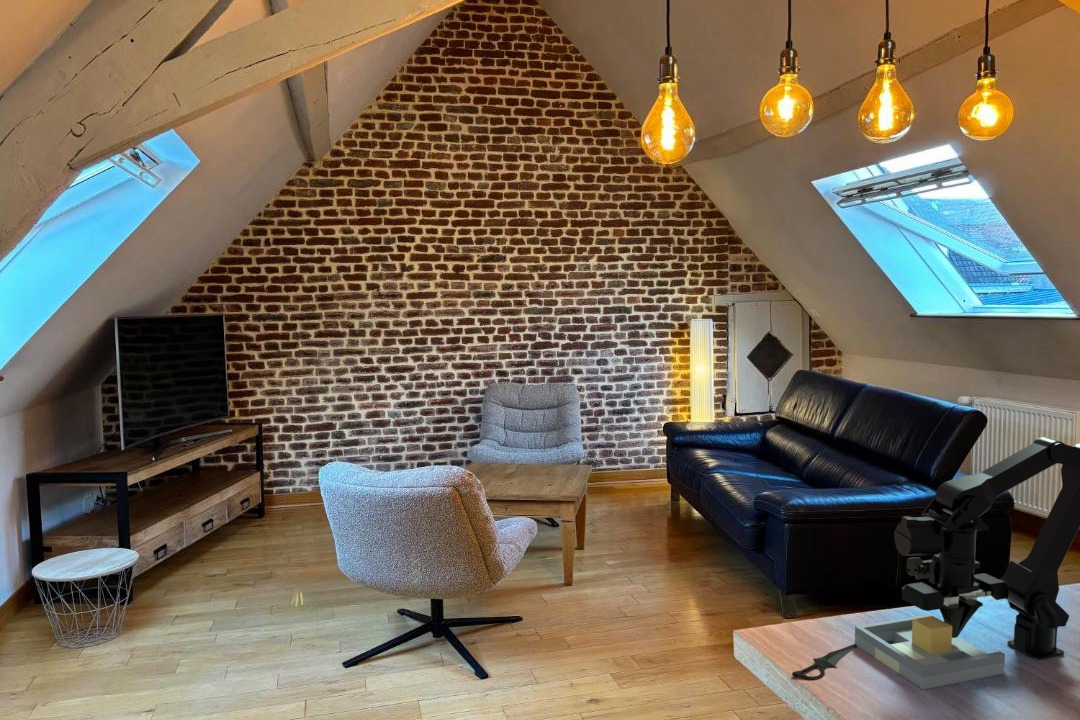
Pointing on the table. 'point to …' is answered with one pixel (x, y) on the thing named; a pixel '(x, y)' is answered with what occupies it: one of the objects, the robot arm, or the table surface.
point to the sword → (825, 663)
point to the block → (931, 634)
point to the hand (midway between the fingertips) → (953, 636)
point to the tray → (926, 655)
